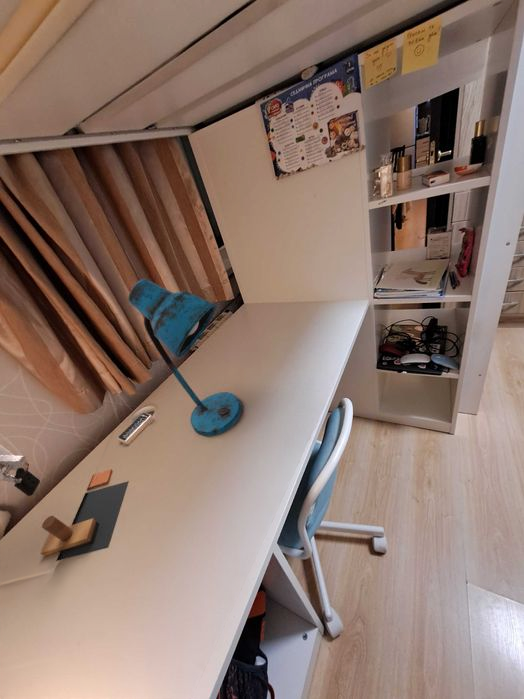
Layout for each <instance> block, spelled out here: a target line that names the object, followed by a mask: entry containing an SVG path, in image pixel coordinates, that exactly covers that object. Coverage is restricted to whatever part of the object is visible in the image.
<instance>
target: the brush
mask: <svg viewBox="0 0 524 699" xmlns="http://www.w3.org/2000/svg"><path fill="white" fill-rule="evenodd" d="M98 526H99V523H98V522H97V521H96V520H95V519H89V520H86V521H83V522H80V523H77V524H74V525H72V524H70V525H67V524H65V523H64V522H63V521H61V520H60V519H59V518H57V517H56V516H54V515H50V516H48V517H47V518H46V519H45V520H44V521H43V522H42V524H41V528H42V529H43V530H44V531H46V532H48V534H47V537H46V539H45V541H44V544H43V546H42V548H41V551H40V552H39V554H40V555H42V556H44V557H46V556H50V555H52V554H56V553H58V555H59V554H62V553H65V552H68V551H71V550H74V549H77V548H80V547H83V546H87V545H90V544H93V543H94V539H95V536H96V533H97V530H98Z"/></svg>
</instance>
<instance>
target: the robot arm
mask: <svg viewBox="0 0 524 699" xmlns="http://www.w3.org/2000/svg"><path fill="white" fill-rule="evenodd" d="M29 466H30V463H28V460H27V458H26V456H24V455H15V454H13V452H11V451H9V450H8V449H7V448H6V447H4V446H3V445H2V444H0V482H2V481H5V482H10V483H13V484H14V487H15V488H16V489H17V490H19V491H20V492H22V493H23V494H24V495H25V496H27V497H31V496H33V495H34V493H35V492H36V490H37V488H38V486H39V485H40V483H41V480H40V479H39V478H38V477H37V476H35V475H34V474H33V473H32V472H30V471H29V470H30V467H29ZM4 468H5V470H4V471H3V469H4ZM11 471H15V475H12V474H10V472H11Z"/></svg>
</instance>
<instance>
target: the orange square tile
mask: <svg viewBox="0 0 524 699" xmlns="http://www.w3.org/2000/svg"><path fill="white" fill-rule="evenodd" d="M113 472H114V471H113V469H112V468H110V469H106V470H104V471H101V472H98V473H96V474H97V477H96V480H95V483H94V485H93V486H94V487H95V488H94V489H97V488H100V487H102V486H105V485H109V484H110V481H111V477H112V475H113Z"/></svg>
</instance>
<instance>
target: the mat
mask: <svg viewBox="0 0 524 699" xmlns="http://www.w3.org/2000/svg"><path fill="white" fill-rule="evenodd" d="M129 482H130V481H129V480H127V481H124V482H121V483H116V484H113V485H109V486H106V487H102V488H99V489H95V490H90V491H87V492H85V493H84V495H83V497H82V500H81V502H80V504H79V507H78V509H77V511H76V513H75V516H74V518H73V521H72V523H71V525H74V524H77V523H80V522H83V521H86V520H89V519H95V520H96V521H97V522H98V523H99V526H98V530H97V533H96V536H95V539H94V543H93V544H90V545H87V546H83V547H80V548H77V549H74V550H71V551H68V552H65V553H62V554H59V553H58V555H57V558H56V560H55V561H56V562H59V561H62V560H66V559H70V558H74V557H77V556H81V555H86V554H89V553H93V552H98V551H100V550H105V549H108V548H109V547H110V544H111V541H112V537H113V534H114V531H115V527H116V525H117V522H118V518H119V515H120V511H121V509H122V506H123V502H124V498H125V495H126V493H127V489H128V486H129Z"/></svg>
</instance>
